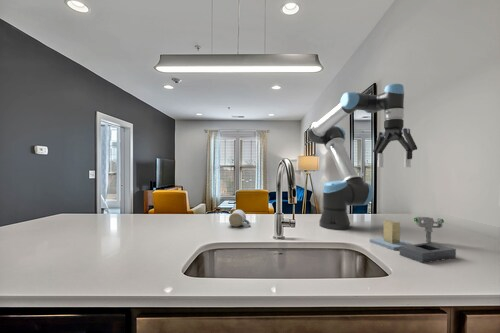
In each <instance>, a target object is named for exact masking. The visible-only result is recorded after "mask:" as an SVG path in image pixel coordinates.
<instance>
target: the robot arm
mask: <svg viewBox="0 0 500 333" xmlns="http://www.w3.org/2000/svg"><path fill="white" fill-rule="evenodd" d="M404 89H405V87H404V85H403V84H401V83H390V84H387V85H386V86H384V90H383V93H380V94H377V95H376V94H368V93H360V92H354V91H353V92H351V91H350V92H349V91H347V92H344V93H343V94H342V96H341V98H340V100H339V103H338V104H337V105H336V106H335V107H334V108H332V109H331V110H330V111H328V112H327V113H326V114H325V115H324V116H322V118H320V119H319V120H316V121H314V122H312V123H311V124H310V125H309V127H308V129H307V137H308V139H309V140H310V141H311V142H312V143H314V144H318V145H320V144H321V145H324V148H325V149H326V150H327V151H329V152H330V155H331V157H332V159H333V163H334V164H335V167H336V169H337V171H338V172H337V173H338V174H339V176H340V178H341V180H333V181H332V180H331V181H326V182H324V184H323V187H322V188H323V189H322V192H323V193H322V194H323V195H322V196H323V198H322V213H321V216H320V219H319V226H320V227H321V228H325V229H329V230H330V229H332V230H349V229H351V222H350V218H349V216H348V212H347V211H348V210H347V209H348V206H366V205H369V204H370V203H371V202H372V200H373V198H374V197H373V196H374V189H373V187H372V185H371V184H370V183H368V182H365V180H364V178H363V177H362V176H360V175H358V174H357V171H356V169H355V167H354V165H353V162H352V160H351V158H350V155H349V154H348V152H347V150H346V147H345V140H346V131H345V130H344V128H343V127H341V126H337V124H338V123H340V122H341V121H343V120H344V119H345V118H347V117H348V116H350V115H351V114H352V113H354V112H356V111H357V110H358V111H364V112H365V113H367V114H374V113H377V112H380V111H383V112H384V113H383V114H384V117H383V120H384V121H383V129H384V132H382V131H381V132H378V137H377V140H376V142H375V145H374V146H373V147H374V148H373V150H372V152H373V153H375V154H376V160H377V168H384V150H385V149H386V148H387V146H388V145H389V143H391V142H395V141H398V142H399V144H400V145H401V146H402V148H404V157H403V158H404V159H403V160H404V163H403V165H404V166H403V167H404V168H411V166H412V165H411V162H412V161H411V160H413V151H415V150H416V151H417V150H418V146H417V144H416V143H415V141H414V138H413V136H412V134H411V129H410V128H407V127H404V118H405V117H404V116H405V114H404V111H405V107H404V106H405V105H404V103H405V102H404V99H405V90H404Z"/></svg>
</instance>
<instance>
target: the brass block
mask: <svg viewBox="0 0 500 333" xmlns="http://www.w3.org/2000/svg"><path fill="white" fill-rule="evenodd" d="M382 238H383V241H385V242H388V243H391V244H395V243H400V240H401V222H400V221H395V220H391V219H390V220H383V237H382Z"/></svg>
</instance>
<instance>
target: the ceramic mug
mask: <svg viewBox="0 0 500 333" xmlns="http://www.w3.org/2000/svg"><path fill="white" fill-rule="evenodd" d="M228 222H229V224H230V225H231V226H232V227H235V228H238V227H241V226H244V227H247V228H249V227H250V226H251V222H250V221H249V220H248V219H247V215H246V212H244V211H243V210H242V209H235V210H233V212H232V213H231V214H230V216H229V218H228Z"/></svg>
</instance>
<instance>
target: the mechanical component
mask: <svg viewBox="0 0 500 333" xmlns="http://www.w3.org/2000/svg"><path fill="white" fill-rule="evenodd" d="M413 220H414V222H415V224H416V226H418V227H420V228H424V232H425V241H426V242H425V243H430V242H432V233H433V229H441V228H442V227H443V224H444V223H445V222H444V221H445V220H444V218H440V217H439V218H437V219H436V221H435V220H434V218H433V217H429V216H427V217H426V216H415V217H414V218H413ZM434 224H435V225H434Z"/></svg>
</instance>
